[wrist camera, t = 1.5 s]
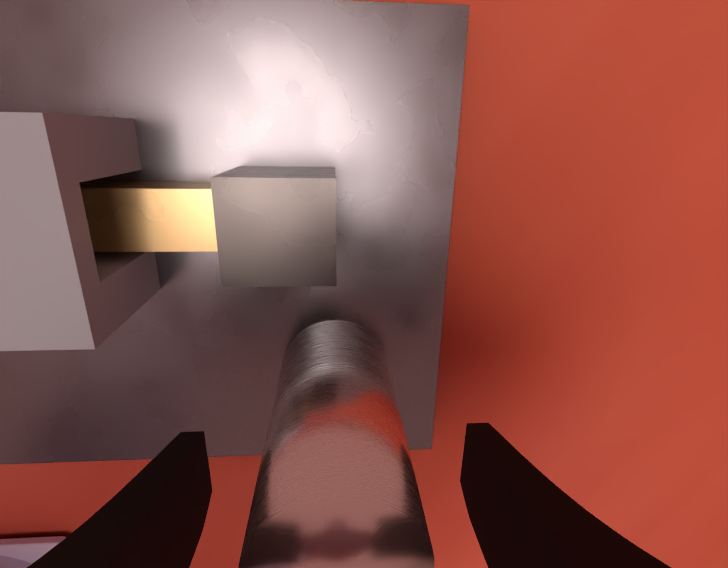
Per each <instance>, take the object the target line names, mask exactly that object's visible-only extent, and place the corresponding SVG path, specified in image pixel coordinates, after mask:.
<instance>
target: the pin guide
mask: <svg viewBox="0 0 728 568" xmlns="http://www.w3.org/2000/svg"><path fill="white" fill-rule="evenodd" d="M138 170H142V168H141V162H140V155H139V149H138V142H137V136H136V130H135V123H134V118H120V117H104V116H88V115H71V114H55V113H31V112H0V351H30V350H84V349H96V348H97V347H98V346H99V345H100V344H101V343H102V342H104V341H105V340H106V339H107V338H108V337H109V336H110V335H111V334H112V333H113V332H114V331H116V330H117V329H118V328H119V327H120V326H121V325H122V324H123V323H124V322H125V321H126V320H127V319H129V318H130V317H131V316H132V315H133V314H134V313H135V312H136V311H137V310H138V309H139V308H141V307H142V306H143V305H144V304H145V303H146V302H147V301H148V300H149V299H150V298H151V297H152V296H154V295H155V294H156V293H157V292H158V291H159V290H160V283H159V277H158V270H157V264H156V257H155V252H93V247H92V242H91V237H90V232H89V227H88V223H87V218H86V213H85V208H84V203H83V198H82V194H81V189H80V184H79V182H84V181H89V180H94V179H98V178H103V177H108V176H113V175H118V174H123V173H128V172H133V171H138Z"/></svg>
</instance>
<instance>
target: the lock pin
mask: <svg viewBox="0 0 728 568" xmlns="http://www.w3.org/2000/svg"><path fill="white" fill-rule="evenodd" d="M79 184H80V189H81V194H82V198H83V203H84V208H85V213H86V218H87V223H88V227H89V232H90V237H91V242H92V247H93V252H196V251H218V259H219V268H220V278H221V287H306V286H337V277H336V173H335V167H300V166H238V167H236V168H233V169H230V170H228V171H225V172H223V173H220V174H217V175H215V176H212V177H210V182H176V181H84V182H79Z"/></svg>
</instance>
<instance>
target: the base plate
mask: <svg viewBox="0 0 728 568" xmlns="http://www.w3.org/2000/svg"><path fill="white" fill-rule="evenodd" d="M469 6H470V5H449V4H423V3H396V2H370V1H344V0H0V112H31V113H55V114H71V115H88V116H104V117H120V118H134V123H135V130H136V136H137V142H138V149H139V155H140V162H141V168H142V170H138V171H133V172H128V173H123V174H118V175H113V176H108V177H103V178H98V179H94V180H89V181H176V182H210V177H212V176H215V175H217V174H220V173H223V172H225V171H228V170H230V169H233V168H236V167H238V166H300V167H335V173H336V277H337V286H306V287H221V278H220V268H219V259H218V251H196V252H155V257H156V264H157V270H158V277H159V283H160V290H159V291H158V292H157V293H156V294H155V295H154V296H152V297H151V298H150V299H149V300H148V301H147V302H146V303H145V304H144V305H143V306H142V307H141V308H139V309H138V310H137V311H136V312H135V313H134V314H133V315H132V316H131V317H130V318H129V319H127V320H126V321H125V322H124V323H123V324H122V325H121V326H120V327H119V328H118V329H117V330H116V331H114V332H113V333H112V334H111V335H110V336H109V337H108V338H107V339H106V340H105V341H104V342H102V343H101V344H100V345H99V346H98V347H97V348H96V349H84V350H30V351H0V464H24V463H52V462H79V461H107V460H135V459H154V458H155V457H156V456H157V455H158V454H159V453H160V452H161V451H162V450H163V449H164V448H165V447H166V446H167V445H168V444H169V443H170V442H171V441H172V440H173V439H174V438H175V437H176V436H177V435H178V434H179V433H180V432H194V431H204V434H205V442H206V449H207V456H208V457H218V456H246V455H262V454H263V450H264V445H265V440H266V436H267V431H268V426H269V421H270V417H271V412H272V407H273V403H274V398H275V393H276V389H277V384H278V379H279V375H280V370H281V365H282V361H283V356H284V353H285V350H286V348H287V347H288V345H289V343H290V342H291V340H292V339H293V338H294V337H295V336H296V335H297V334H298V333H299V332H301V331H302V330H303V329H305V328H307V327H309V326H311V325H313V324H315V323H318V322H322V321H327V320H344V321H350V322H353V323H356V324H358V325H361V326H363V327H365V328H366V329H368V330H369V331H370V332H372V333H373V334H374V335H375V336H376V337H377V338H378V340H379V341H380V342H381V344H382V346H383V348H384V350H385V353H386V356H387V360H388V365H389V369H390V373H391V377H392V381H393V386H394V390H395V394H396V398H397V402H398V407H399V411H400V415H401V419H402V423H403V428H404V432H405V436H406V440H407V444H408V449H409V450H412V449H432V438H433V426H434V414H435V403H436V391H437V379H438V368H439V356H440V344H441V333H442V321H443V309H444V298H445V286H446V274H447V263H448V251H449V239H450V228H451V216H452V204H453V193H454V181H455V169H456V158H457V146H458V134H459V123H460V111H461V99H462V88H463V76H464V64H465V53H466V41H467V29H468V18H469Z"/></svg>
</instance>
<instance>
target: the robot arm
mask: <svg viewBox="0 0 728 568" xmlns="http://www.w3.org/2000/svg"><path fill="white" fill-rule="evenodd" d="M460 482H461V487H462V491H463V495H464V499H465V503H466V507H467V510H468V514H469V518H470V521H471V523H472V526H473V529H474V531H475V534H476V537H477V539H478V542H479V545H480V547H481V550H482V552H483V555H484V558H485V560H486V563H487V565H488V568H671V567H669V566H668V565H666V564H664V563H663V562H661V561H660V560H658V559H656V558H655V557H653V556H652V555H650V554H649V553H647V552H645V551H644V550H642V549H641V548H639V547H637V546H636V545H634V544H633V543H631V542H630V541H628V540H627V539H626V538H624V537H623V536H621V535H620V534H618V533H617V532H615V531H614V530H613V529H611V528H610V527H609V526H607V525H606V524H604V523H603V522H602V521H600V520H599V519H597V518H596V517H595V516H593V515H592V514H591V513H589V512H588V511H587V510H585V509H584V508H583V507H582V506H580V505H579V504H578V503H577V502H575V501H574V500H573V499H572V498H570V497H569V496H568V495H567V494H566V493H564V492H563V491H562V490H561V489H559V488H558V487H557V486H556V485H555V484H554V483H552V482H551V481H550V480H549V479H548V478H547V477H546V476H544V475H543V474H542V473H541V472H540V471H539V470H538V469H537V468H536V467H534V466H533V465H532V464H531V463H530V462H529V461H528V460H527V459H526V458H525V457H524V456H523V455H521V454H520V453H519V452H518V451H517V450H516V449H515V448H514V447H513V446H512V445H511V444H510V443H509V442H508V441H507V440H506V439H505V438H504V437H503V436H502V435H501V434H500V433H499V432H498V431H496V430H495V429H494V428H493V427H492V426H491V425H490V424H489V423H467V427H466V436H465V444H464V453H463V461H462V469H461V478H460ZM211 493H212V485H211V478H210V471H209V463H208V456H207V449H206V442H205V434H204V431H194V432H180V433H179V434H178V435H177V436H176V437H175V438H174V439H173V440H172V441H171V442H170V443H169V444H168V445H167V446H166V447H165V448H164V449H163V450H162V451H161V452H160V453H159V454H158V455H157V456H156V457H155V458H154V459H153V460H152V461H151V462H150V463H149V464H148V465H147V466H146V467H145V468H144V469H143V470H142V471H141V472H139V473H138V474H137V475H136V476H135V477H134V478H133V479H132V480H131V481H130V482H129V483H128V484H127V485H126V486H125V487H124V488H123V489H122V490H121V491H120V492H118V493H117V494H116V495H115V496H114V497H113V498H112V499H111V500H110V501H109V502H107V503H106V504H105V505H104V506H103V507H102V508H101V509H99V510H98V511H97V512H96V513H95V514H94V515H93V516H92V517H90V518H89V519H88V520H87V521H86V522H85V523H84V524H82V525H81V526H80V527H79V528H77V529H76V530H75V531H74V532H73V533H71V534H70V535H69V536H68V537H65V536H54V537H33V538H12V539H0V568H189V567H190V564H191V561H192V558H193V556H194V553H195V550H196V547H197V545H198V542H199V539H200V536H201V533H202V530H203V527H204V523H205V519H206V515H207V511H208V506H209V502H210V498H211Z"/></svg>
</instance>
